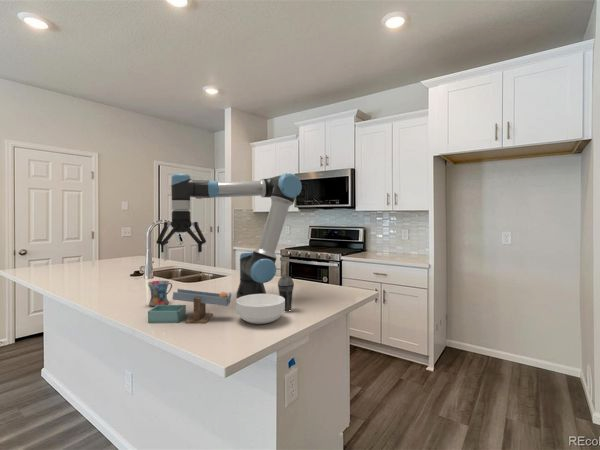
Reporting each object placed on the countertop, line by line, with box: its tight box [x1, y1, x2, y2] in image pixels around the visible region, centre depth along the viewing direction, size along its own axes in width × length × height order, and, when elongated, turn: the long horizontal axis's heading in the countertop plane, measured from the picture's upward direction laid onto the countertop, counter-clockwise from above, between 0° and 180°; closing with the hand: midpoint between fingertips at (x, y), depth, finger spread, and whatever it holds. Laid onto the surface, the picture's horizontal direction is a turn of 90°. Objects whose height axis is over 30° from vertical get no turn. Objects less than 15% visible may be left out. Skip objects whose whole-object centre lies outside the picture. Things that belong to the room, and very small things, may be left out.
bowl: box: [235, 293, 285, 325], centre depth 133 cm, size 20×20×8 cm
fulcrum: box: [185, 298, 214, 324], centre depth 134 cm, size 8×11×10 cm
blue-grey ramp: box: [171, 288, 232, 307], centre depth 137 cm, size 22×13×4 cm, turn 92°
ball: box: [219, 291, 228, 298], centre depth 134 cm, size 4×4×4 cm
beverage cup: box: [277, 265, 295, 312], centre depth 146 cm, size 7×7×20 cm
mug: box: [147, 280, 173, 307], centre depth 155 cm, size 12×9×11 cm
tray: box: [147, 304, 187, 324], centre depth 134 cm, size 12×9×4 cm
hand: (181, 260), depth 141 cm, fingers open, 13 cm apart
